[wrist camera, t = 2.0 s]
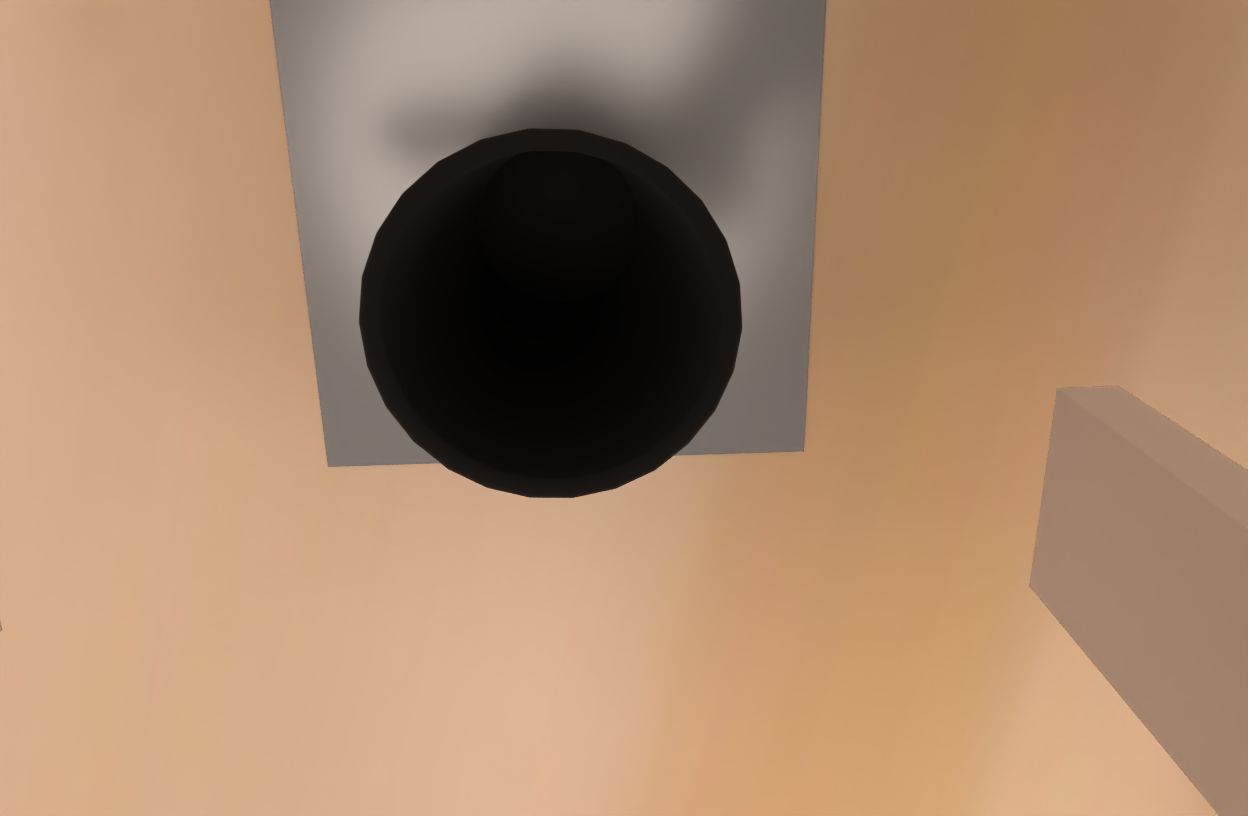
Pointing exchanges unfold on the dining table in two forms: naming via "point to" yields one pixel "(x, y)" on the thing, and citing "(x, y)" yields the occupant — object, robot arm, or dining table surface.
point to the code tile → (558, 99)
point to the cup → (550, 313)
